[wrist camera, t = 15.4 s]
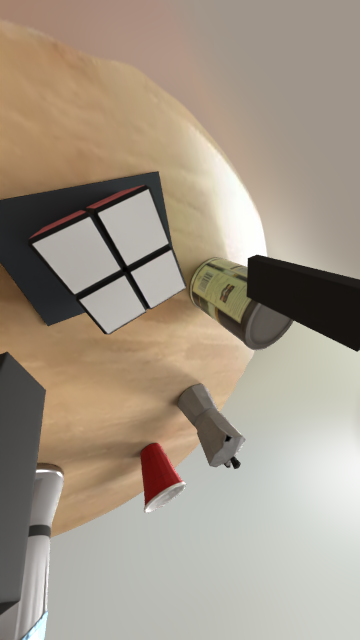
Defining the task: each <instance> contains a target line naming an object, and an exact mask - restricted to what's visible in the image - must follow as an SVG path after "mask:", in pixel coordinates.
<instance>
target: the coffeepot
mask: <svg viewBox="0 0 360 640" xmlns="http://www.w3.org/2000/svg"><path fill="white" fill-rule="evenodd" d="M178 407H179V408H180V410H181V411H182V412H183V413H184V415H185V416H186V417H187V418H188V420H189V421H190V422H191V423H192V424H193V425H194V426H195V427H196V429H197V435H198V437H199V440H200V442H201V445H202V447H203V450H204V452H205V455H206V458H207V460H208V463H209V465H210V466H213V467H218V466H219V465H221V464H224V465H225V466H226V467H227V468H229V467H231V463H232V465H233V467H234V469H237V468H239V466H240V462H239V461H238V460H237V459H236V458H235V455H236V454H237V453H238V452H239V450H240V449H241V447H242V446H243V444H244V442H245V440H246V439H245V438H244V437H243V436H242V435H241V434H240V433H239V432H238V431H237V430H236V428H234V426H233V425H232V424H231V423H230V422H229V421H228V420H227V419H226V418H225V417H224V416H223V415H222V414H221V413H219V411H218V410H217V409H218V408H217V406H216V405H215V403H214V401H213V399H212V397H211V395H210V393H209V391H208V389H207V388H206V387H205V386H204V385H203V384H197V385H194V386H191V387H190V388H188V389H187V390H186V391H184V392H183V394H182V395H181V396H180V398H179V401H178Z"/></svg>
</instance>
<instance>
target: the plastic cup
mask: <svg viewBox="0 0 360 640" xmlns="http://www.w3.org/2000/svg"><path fill="white" fill-rule="evenodd" d="M141 465H142V476H143V485H144V496H145V508H144V512H145V513H149V512H152V511H154V510H156V509H158V508H160V507H162V506H163V505H165V504H167V503H168V502H170V501H171V500H172V499H174V498H175V497H176V496H178V495H179V494H180V493H181V492H182V491H183V489H184V488H185V487H186V484H185V483H184V482H183V481H182V480H181V478H180V477H179V475H178V474H177V473H176V471H175V469H174V467H173V466H172V464H171V462H170V461H169V459H168V457H167V455H166V454H165V453H164V451H163V449H162V447H161V446H160V445H159V444H158V443H153V444H150V445H148V446H147V447H145V448H144V449H143V450H142V452H141Z"/></svg>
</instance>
